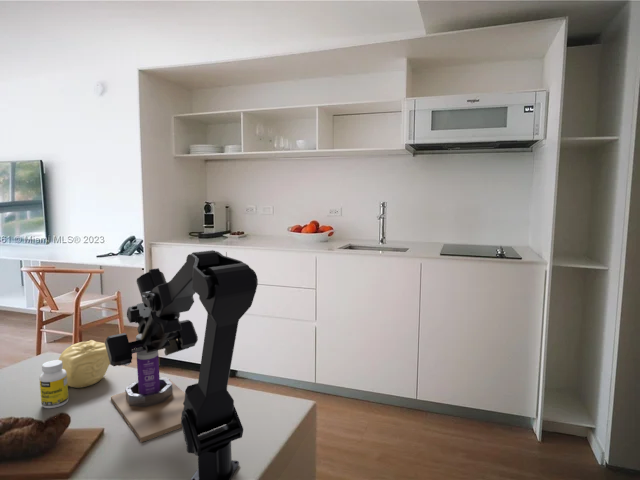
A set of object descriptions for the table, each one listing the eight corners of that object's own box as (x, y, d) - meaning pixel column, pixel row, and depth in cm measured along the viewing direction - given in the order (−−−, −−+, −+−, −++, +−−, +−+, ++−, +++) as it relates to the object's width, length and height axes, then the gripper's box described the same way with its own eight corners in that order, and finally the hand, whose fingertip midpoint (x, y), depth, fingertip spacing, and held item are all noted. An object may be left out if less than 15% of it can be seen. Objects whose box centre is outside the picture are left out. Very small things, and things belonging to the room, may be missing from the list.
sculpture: (72, 397, 103) (68, 354, 102) (51, 383, 110) (47, 343, 109) (118, 380, 112) (116, 340, 111) (96, 368, 119) (93, 330, 118)
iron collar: (157, 408, 96) (156, 397, 95) (118, 404, 97) (117, 394, 97) (178, 388, 105) (178, 378, 105) (142, 385, 107) (142, 375, 106)
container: (146, 403, 98) (142, 340, 96) (135, 397, 101) (131, 336, 99) (164, 395, 102) (161, 334, 100) (153, 390, 104) (149, 330, 102)
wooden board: (207, 417, 94) (207, 413, 94) (141, 442, 85) (140, 437, 85) (169, 382, 110) (169, 379, 110) (110, 400, 102) (110, 396, 101)
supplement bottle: (38, 410, 97) (34, 369, 96) (46, 399, 102) (42, 359, 101) (65, 407, 98) (61, 366, 97) (71, 396, 104) (68, 357, 102)
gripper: (190, 286, 101) (174, 321, 110) (104, 300, 89) (94, 337, 99) (206, 327, 96) (188, 359, 105) (117, 348, 84) (106, 382, 94)
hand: (146, 358), depth 101 cm, fingers open, 9 cm apart
